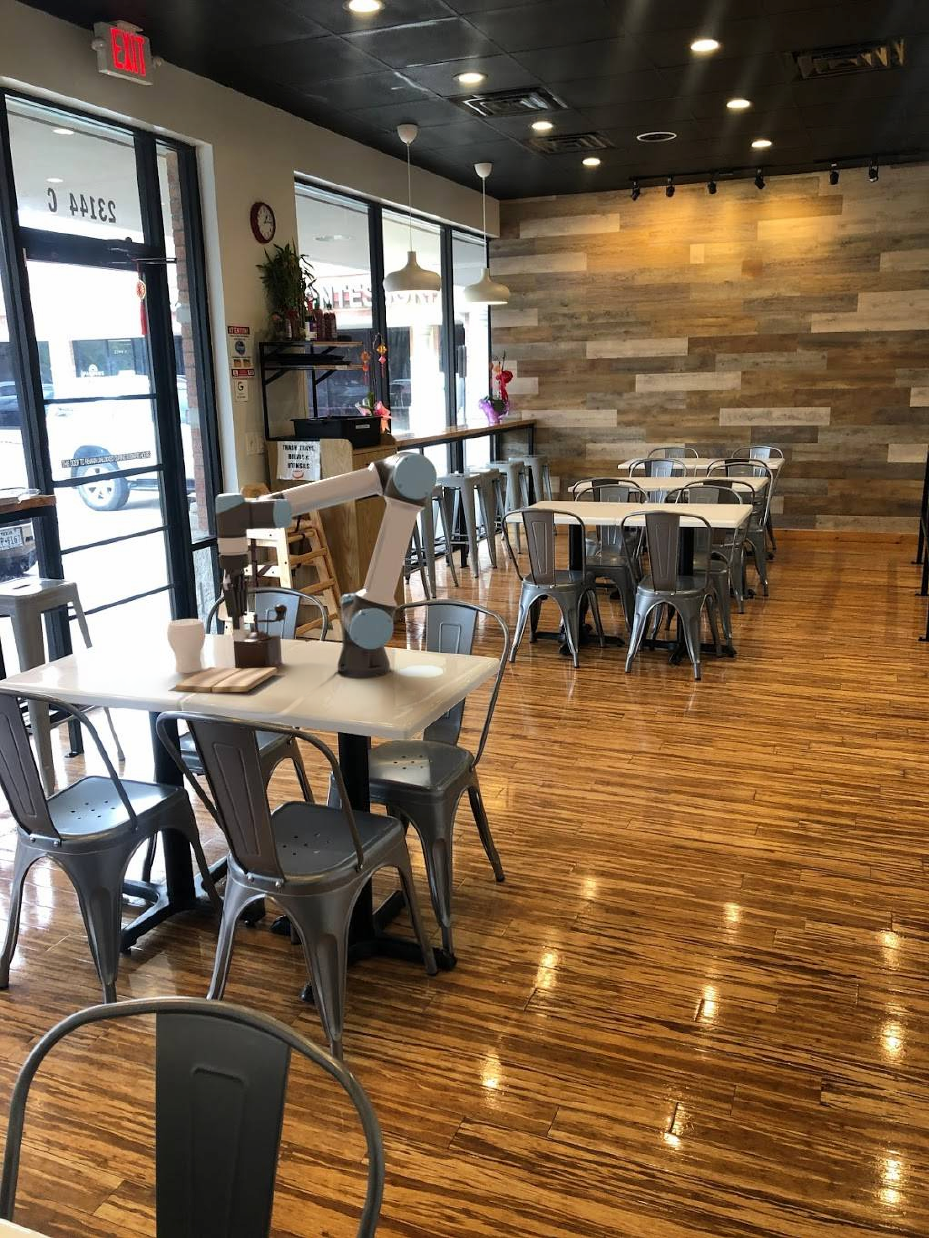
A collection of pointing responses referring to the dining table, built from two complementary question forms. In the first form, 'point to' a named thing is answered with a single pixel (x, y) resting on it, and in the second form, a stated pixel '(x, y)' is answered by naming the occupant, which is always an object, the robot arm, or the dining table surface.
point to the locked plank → (206, 679)
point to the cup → (187, 643)
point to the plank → (244, 680)
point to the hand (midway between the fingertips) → (239, 640)
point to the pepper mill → (260, 646)
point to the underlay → (249, 692)
